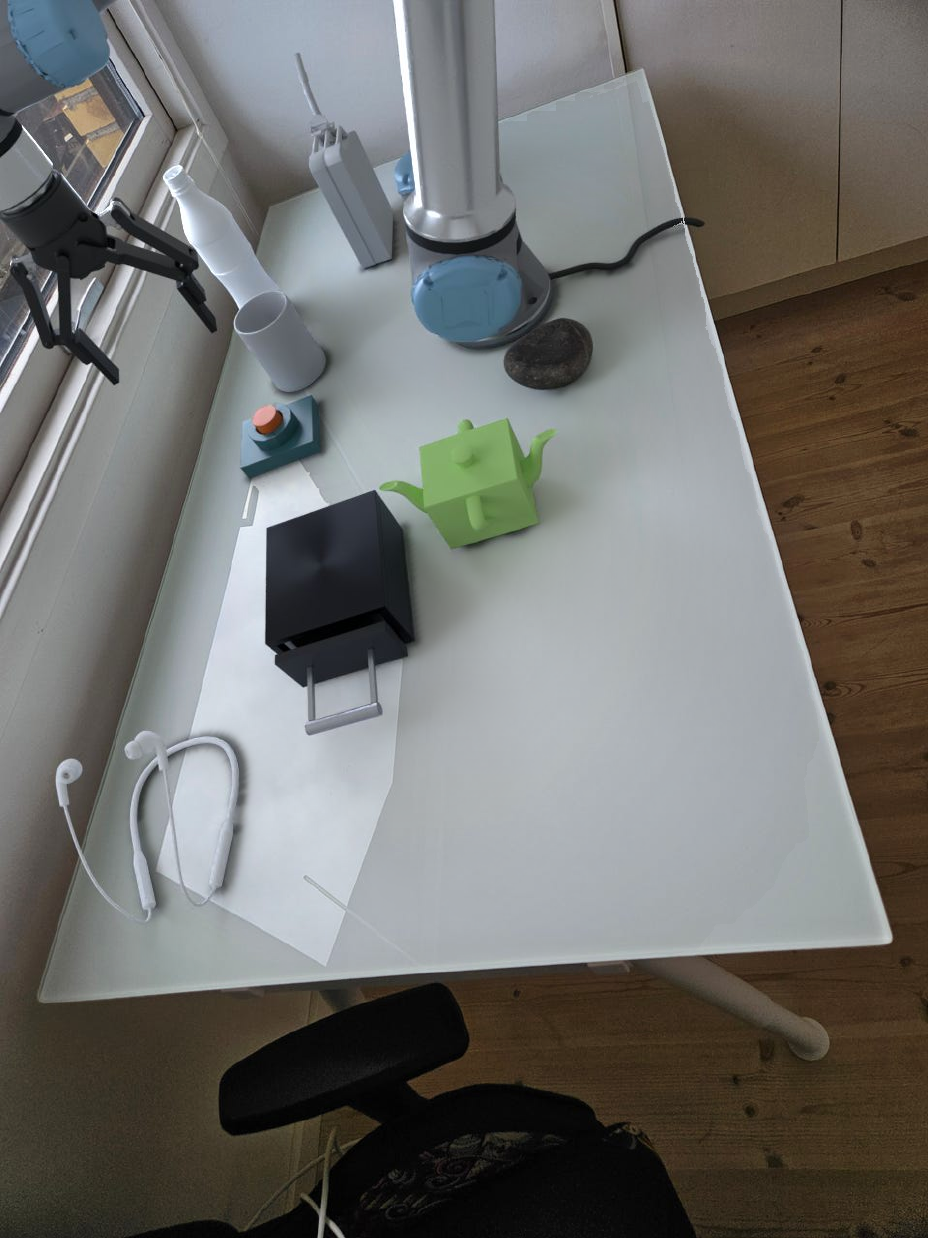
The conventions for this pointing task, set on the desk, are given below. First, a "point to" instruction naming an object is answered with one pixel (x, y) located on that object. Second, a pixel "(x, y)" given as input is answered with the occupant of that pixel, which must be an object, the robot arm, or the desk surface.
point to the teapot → (477, 482)
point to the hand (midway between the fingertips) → (164, 351)
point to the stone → (550, 355)
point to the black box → (336, 571)
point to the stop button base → (282, 438)
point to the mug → (280, 341)
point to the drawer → (342, 664)
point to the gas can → (349, 184)
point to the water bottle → (218, 239)
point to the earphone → (144, 746)
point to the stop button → (267, 419)
